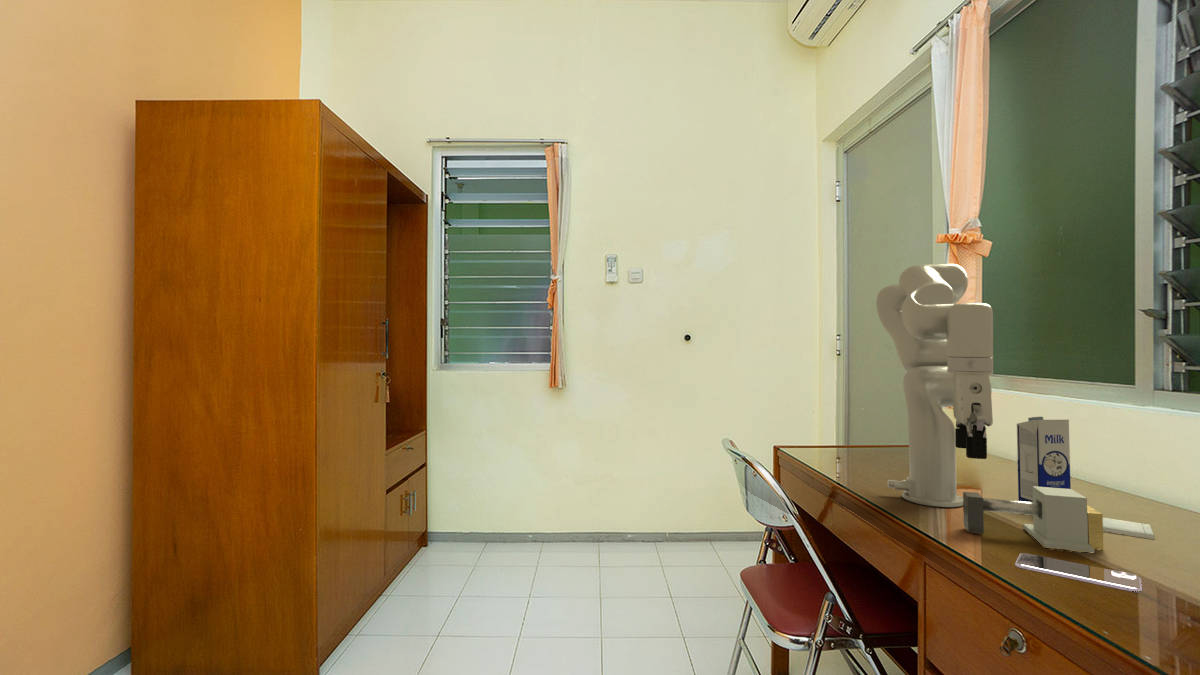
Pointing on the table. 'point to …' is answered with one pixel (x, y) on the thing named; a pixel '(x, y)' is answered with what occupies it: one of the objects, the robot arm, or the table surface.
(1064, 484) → the milk carton
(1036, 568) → the mobile phone
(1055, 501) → the bearing block
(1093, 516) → the spacer
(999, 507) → the shaft
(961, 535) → the table surface
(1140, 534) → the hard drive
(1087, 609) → the table surface
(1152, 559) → the table surface
